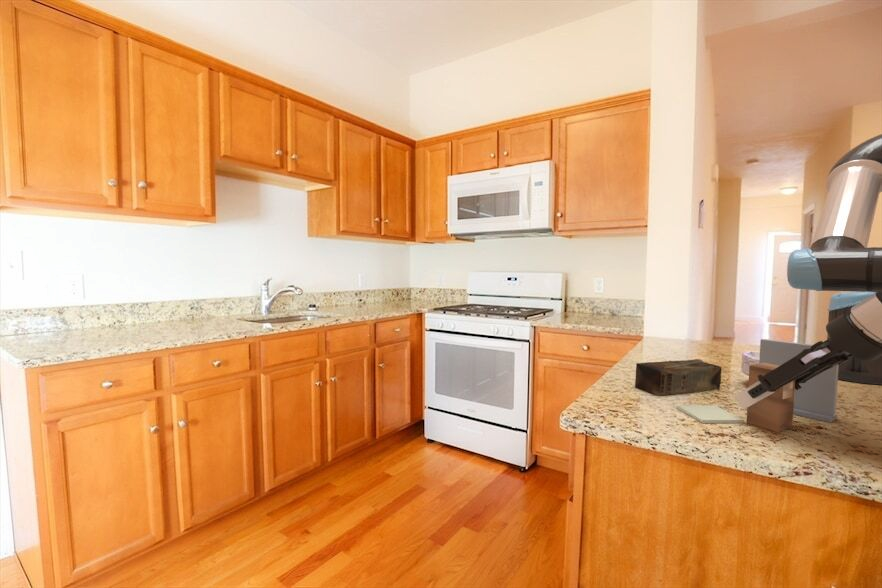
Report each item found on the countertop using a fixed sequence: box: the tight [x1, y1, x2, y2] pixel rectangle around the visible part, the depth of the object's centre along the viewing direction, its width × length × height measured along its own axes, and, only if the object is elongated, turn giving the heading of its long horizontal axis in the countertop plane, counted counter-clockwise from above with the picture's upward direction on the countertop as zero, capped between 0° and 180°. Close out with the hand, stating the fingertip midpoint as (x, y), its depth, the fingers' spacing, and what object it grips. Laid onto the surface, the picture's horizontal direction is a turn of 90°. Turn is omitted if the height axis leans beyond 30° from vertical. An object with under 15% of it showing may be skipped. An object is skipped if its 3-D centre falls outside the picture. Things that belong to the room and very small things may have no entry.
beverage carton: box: [634, 358, 723, 397], centre depth 98 cm, size 8×19×7 cm, turn 106°
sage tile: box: [676, 404, 745, 424], centre depth 80 cm, size 8×8×1 cm
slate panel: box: [759, 338, 839, 423], centre depth 82 cm, size 12×4×14 cm, turn 33°
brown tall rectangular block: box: [746, 363, 795, 433], centre depth 75 cm, size 5×5×11 cm
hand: (747, 400), depth 78 cm, fingers closed on brown tall rectangular block, 5 cm apart
